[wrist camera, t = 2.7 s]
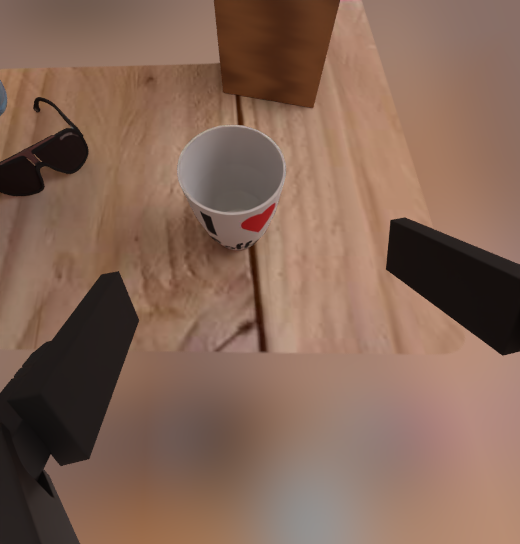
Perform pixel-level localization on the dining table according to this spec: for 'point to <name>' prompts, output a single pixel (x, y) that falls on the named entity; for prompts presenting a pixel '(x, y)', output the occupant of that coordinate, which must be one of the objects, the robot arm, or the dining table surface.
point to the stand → (274, 47)
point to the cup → (232, 182)
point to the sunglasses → (43, 159)
